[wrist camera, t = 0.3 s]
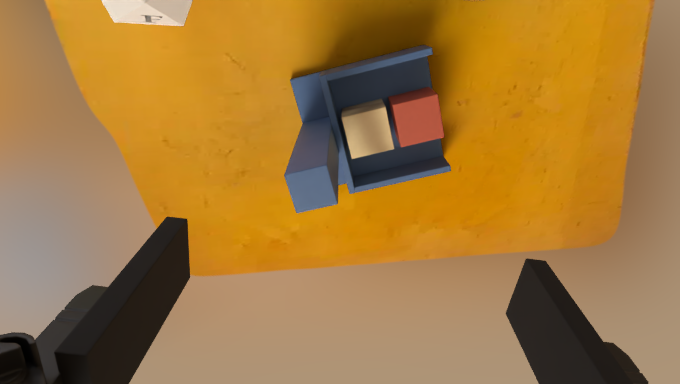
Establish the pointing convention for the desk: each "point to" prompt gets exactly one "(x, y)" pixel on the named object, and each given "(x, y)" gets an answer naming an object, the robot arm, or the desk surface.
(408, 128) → the brick block
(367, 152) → the maple block
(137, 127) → the desk surface
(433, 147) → the scoop
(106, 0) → the die
